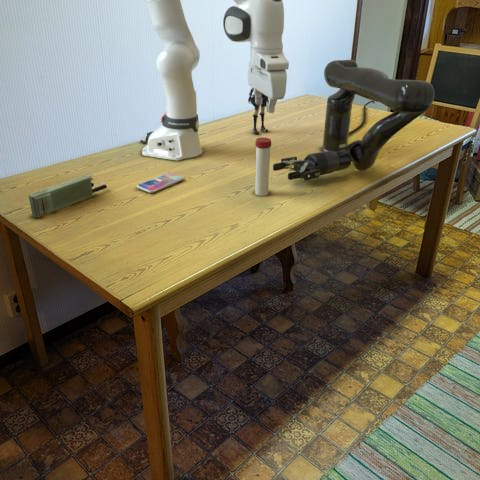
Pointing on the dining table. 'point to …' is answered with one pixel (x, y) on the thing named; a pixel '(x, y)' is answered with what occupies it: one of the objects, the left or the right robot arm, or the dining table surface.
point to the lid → (263, 142)
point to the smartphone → (159, 182)
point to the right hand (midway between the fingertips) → (280, 172)
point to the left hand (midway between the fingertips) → (264, 108)
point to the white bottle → (262, 171)
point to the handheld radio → (62, 195)
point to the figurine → (255, 116)
